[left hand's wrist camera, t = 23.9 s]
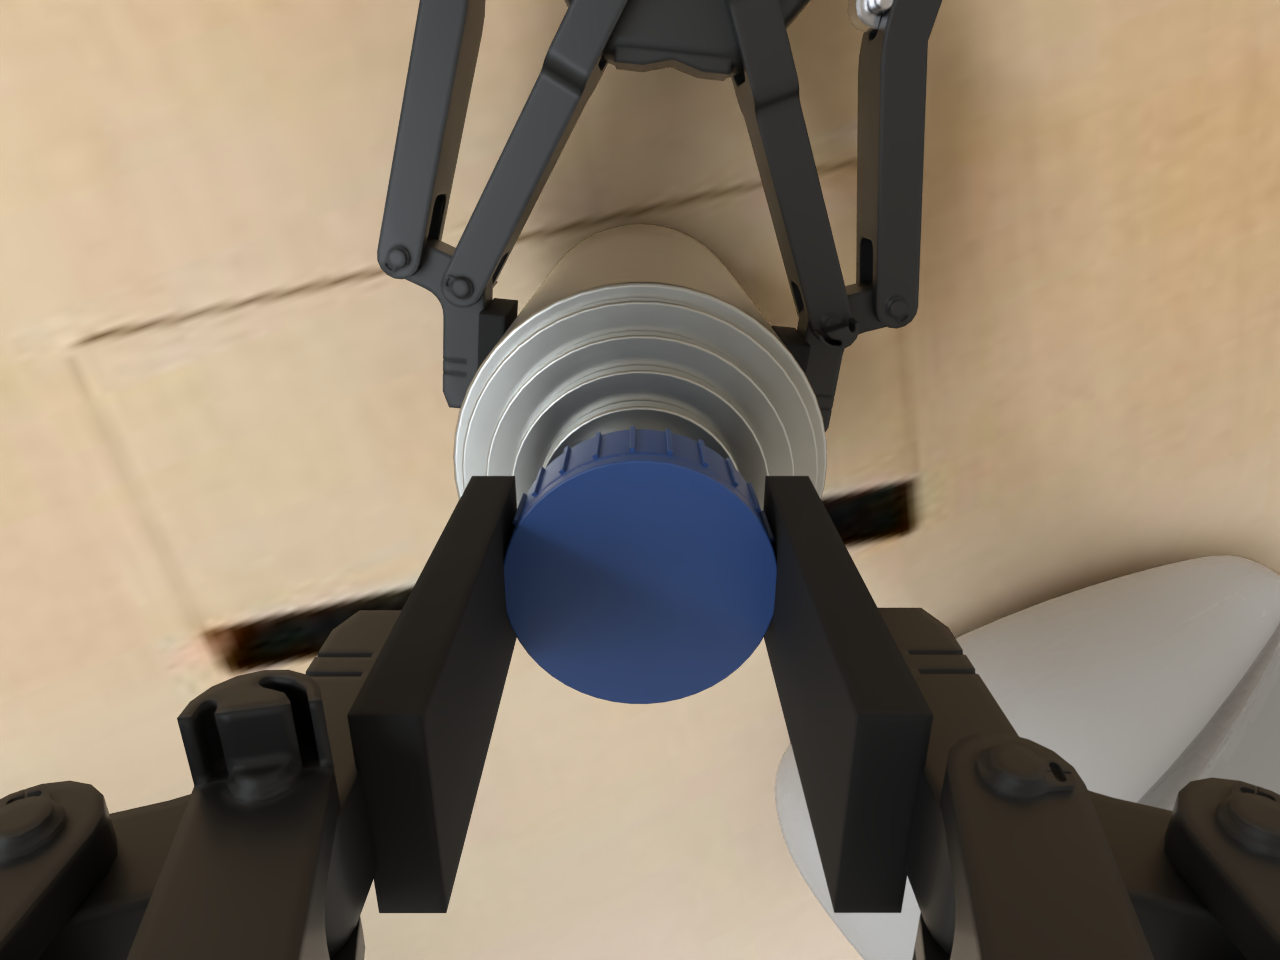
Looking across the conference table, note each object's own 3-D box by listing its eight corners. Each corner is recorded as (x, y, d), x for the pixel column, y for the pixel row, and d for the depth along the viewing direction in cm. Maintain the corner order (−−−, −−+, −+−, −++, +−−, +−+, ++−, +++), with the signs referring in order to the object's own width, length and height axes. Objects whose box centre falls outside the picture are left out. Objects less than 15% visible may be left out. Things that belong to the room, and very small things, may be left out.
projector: (1156, 922, 43) (1393, 1273, 30) (730, 889, 42) (774, 1235, 29) (1330, 552, 35) (1766, 803, 22) (807, 501, 34) (917, 730, 21)
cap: (584, 686, 16) (579, 742, 14) (466, 490, 14) (445, 529, 13) (804, 598, 15) (823, 646, 13) (705, 380, 13) (712, 409, 12)
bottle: (646, 473, 34) (653, 832, 16) (491, 340, 32) (298, 581, 14) (789, 327, 32) (986, 555, 14) (633, 174, 30) (622, 206, 12)
